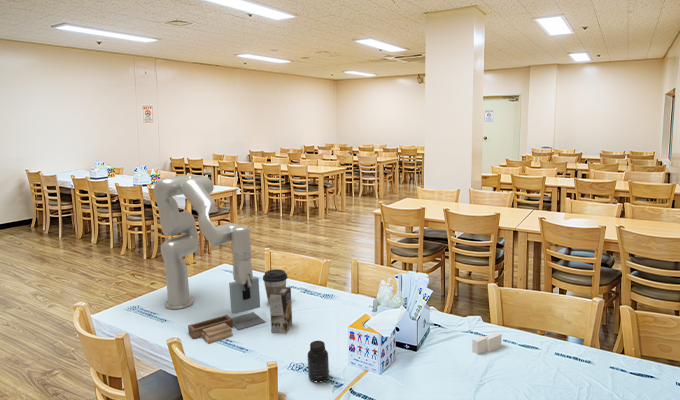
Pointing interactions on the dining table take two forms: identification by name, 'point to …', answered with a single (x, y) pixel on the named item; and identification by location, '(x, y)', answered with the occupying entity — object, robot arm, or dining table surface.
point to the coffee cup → (274, 281)
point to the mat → (247, 321)
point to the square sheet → (237, 297)
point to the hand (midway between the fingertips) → (245, 297)
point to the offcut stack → (216, 333)
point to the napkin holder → (486, 343)
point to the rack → (208, 325)
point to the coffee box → (281, 309)
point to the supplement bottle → (318, 361)
